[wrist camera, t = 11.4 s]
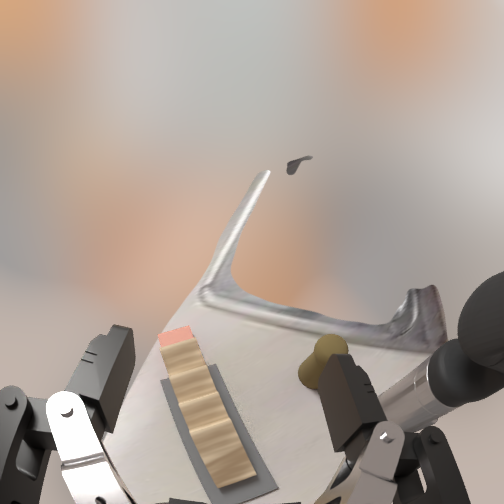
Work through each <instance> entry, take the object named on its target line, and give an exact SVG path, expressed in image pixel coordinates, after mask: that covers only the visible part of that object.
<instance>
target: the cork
mask: <svg viewBox="0 0 504 504" xmlns="http://www.w3.org/2000/svg"><path fill="white" fill-rule="evenodd" d="M332 354H348V345H347V343H346V341H345V340H344V339H343V338H342V337H340V336H338V335H335V334H328V335H325V336H323V337H321V338H320V339H319V340H318V341H317V343H316V344H315V347H314V352H313V353H312V354H311V355H310V356H309V357H308V358H307V359H306V360H305V361H304V362H303V363H302V364H301V365H300V367H299V370H298V377H299V379H300V381H301V382H302V384H303V385H305V386H306V387H308V388H311V389H318V380H319V377H320V375H321V373H322V371H323V369H324V367H325V365H326V363H327V361H328V359H329V357H330V356H331V355H332Z"/></svg>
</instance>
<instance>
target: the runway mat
mask: <svg viewBox="0 0 504 504" xmlns="http://www.w3.org/2000/svg"><path fill="white" fill-rule="evenodd" d="M207 367H208V370H209V372H210V375H211V378H212V380H213V383H214V385H215V388H216V390H217V392H218V393H219V395H220V398H221V400H222V402H223V405H224V407H225V410H226V412H227V414H228V417H229V418H230V419H231V421H232V423H233V426H234V428H235V430H236V432H237V434H238V437H239V439H240V441H241V443H242V445H243V448H244V450H245V452H246V454H247V456H248V458H249V460H250V462H251V464H252V466H253V468H254V470H255V472H256V474H257V475H254V476H252V477H249V478H247V479H244V480H241V481H238V482H236V483H233V484H230V485H227V486H224V487H221V488H217V486H216V485H215V483H214V481H213V479H212V477H211V475H210V473H209V472H208V470H207V468H206V466H205V464H204V462H203V460H202V458H201V456H200V454H199V452H198V450H197V448H196V446H195V443H194V441H193V439H192V437H191V435H190V432H189V428H188V426H187V424H186V421H185V419H184V417H183V414H182V412H181V409H180V407H179V405H178V404H179V402H178V400H177V397H176V395H175V392H174V390H173V387H172V384H171V382H170V379H169V378H168V379H164V380H160V381H161V384H162V387H163V390H164V393H165V396H166V399H167V402H168V405H169V408H170V410H171V413H172V416H173V419H174V421H175V424H176V426H177V429H178V432H179V434H180V437H181V439H182V442H183V444H184V446H185V449H186V451H187V453H188V456H189V458H190V460H191V462H192V465H193V467H194V469H195V471H196V473H197V475H198V477H199V480H200V482H201V484H202V486H203V488H204V490H205V492H206V494H207V495H208V497H209V499H210V501H211V503H212V504H238V503H241V502H244V501H247V500H250V499H252V498H255V497H257V496H260V495H262V494H265V493H267V492H270V491H272V490H274V489H277V488H278V486H277V484H276V483H275V481H274V479H273V478H272V476H271V474H270V472H269V471H268V469H267V467H266V465H265V463H264V462H263V460H262V458H261V456H260V454H259V452H258V451H257V449H256V447H255V445H254V443H253V441H252V439H251V437H250V435H249V433H248V431H247V429H246V427H245V425H244V423H243V421H242V419H241V417H240V415H239V413H238V411H237V409H236V407H235V405H234V403H233V401H232V399H231V397H230V394H229V392H228V390H227V388H226V386H225V384H224V381H223V379H222V377H221V375H220V372H219V370H218V368H217V366H216V364H214V365H210V366H207Z"/></svg>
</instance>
